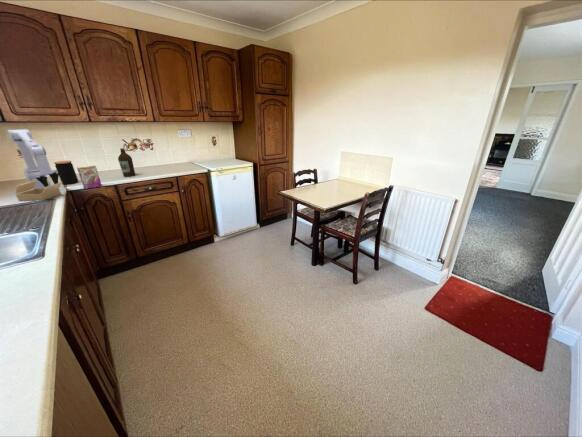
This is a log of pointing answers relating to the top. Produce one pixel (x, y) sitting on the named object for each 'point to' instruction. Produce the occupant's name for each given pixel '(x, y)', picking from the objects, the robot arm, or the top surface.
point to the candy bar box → (89, 176)
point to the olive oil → (126, 164)
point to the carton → (37, 195)
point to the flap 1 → (25, 187)
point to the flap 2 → (52, 187)
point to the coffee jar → (66, 172)
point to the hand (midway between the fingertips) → (51, 185)
